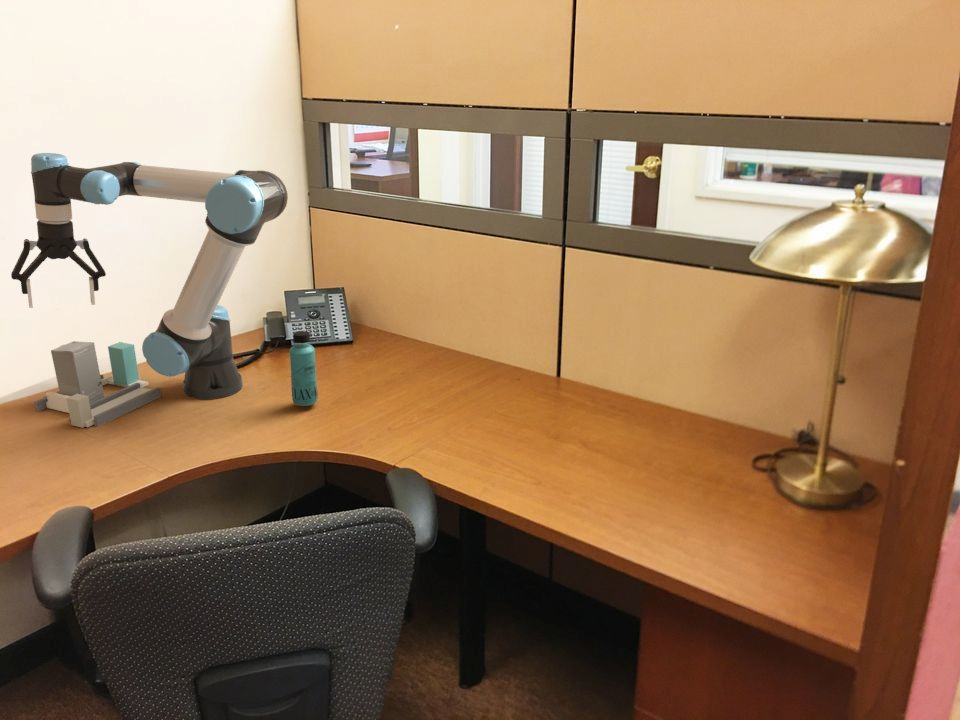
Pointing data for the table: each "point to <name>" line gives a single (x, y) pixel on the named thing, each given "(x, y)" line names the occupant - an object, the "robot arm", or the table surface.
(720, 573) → the table surface
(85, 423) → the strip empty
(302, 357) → the beverage bottle
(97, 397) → the skincare box
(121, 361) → the white and teal frame
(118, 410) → the lane bed
